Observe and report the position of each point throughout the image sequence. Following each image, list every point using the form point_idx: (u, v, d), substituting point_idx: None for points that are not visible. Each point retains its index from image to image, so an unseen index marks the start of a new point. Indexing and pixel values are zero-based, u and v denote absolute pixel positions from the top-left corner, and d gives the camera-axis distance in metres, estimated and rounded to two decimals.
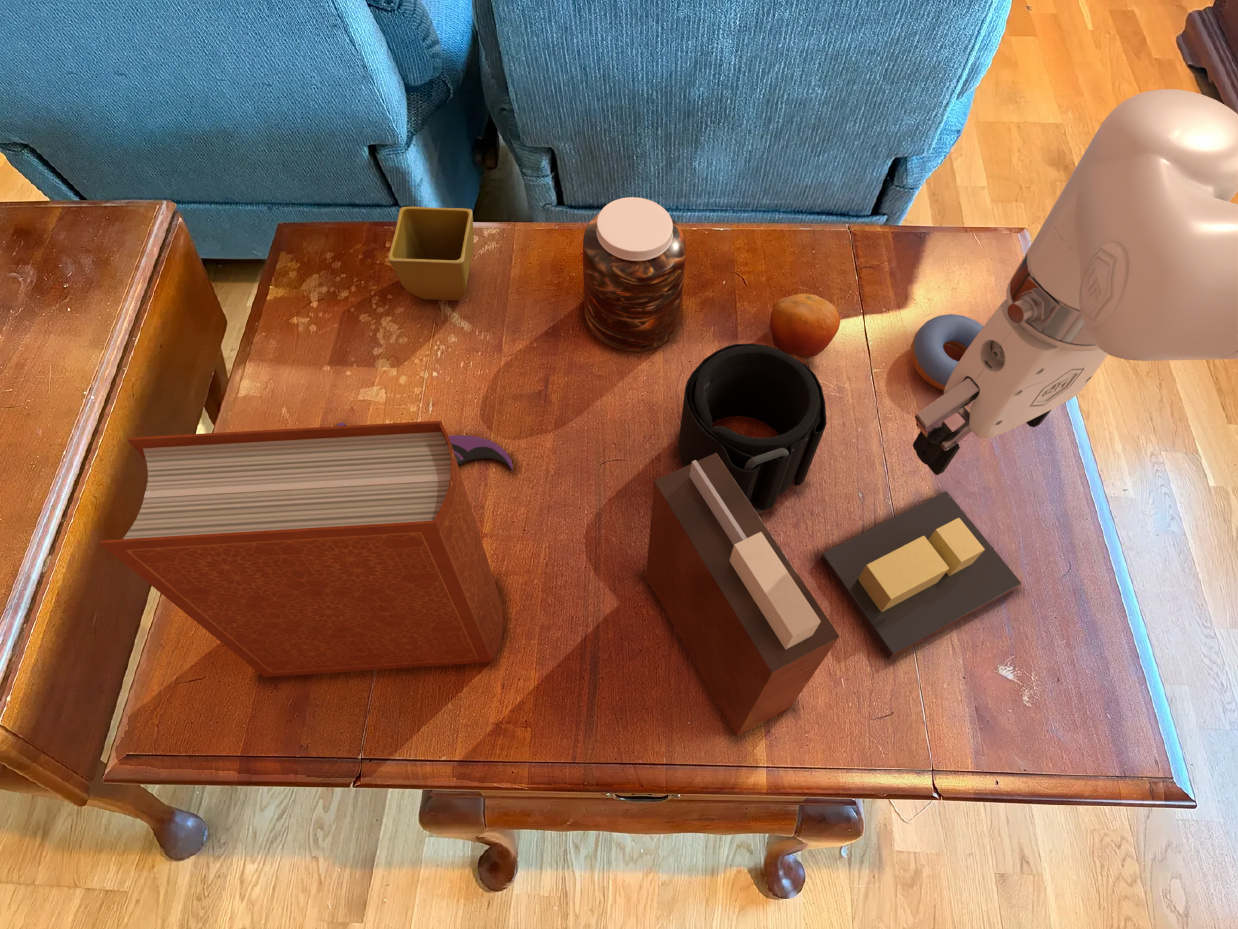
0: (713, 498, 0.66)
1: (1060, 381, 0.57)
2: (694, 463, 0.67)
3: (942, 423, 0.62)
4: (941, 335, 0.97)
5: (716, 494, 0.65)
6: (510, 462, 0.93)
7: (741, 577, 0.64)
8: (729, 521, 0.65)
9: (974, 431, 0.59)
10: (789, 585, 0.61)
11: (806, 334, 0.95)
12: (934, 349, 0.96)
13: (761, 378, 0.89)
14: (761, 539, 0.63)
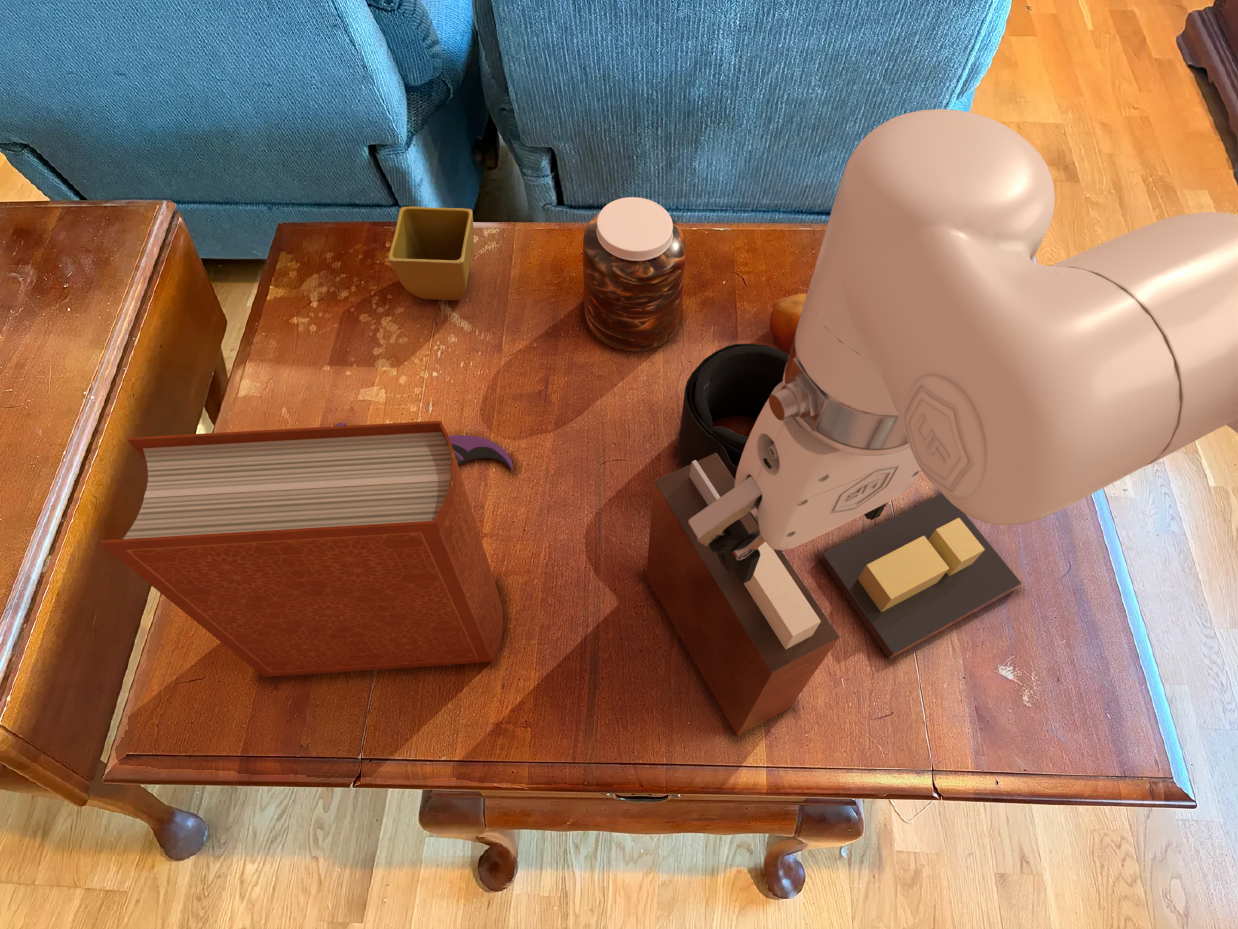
0: (713, 498, 0.66)
1: (866, 483, 0.44)
2: (694, 463, 0.67)
3: (735, 526, 0.49)
4: None
5: (716, 494, 0.65)
6: (510, 462, 0.93)
7: None
8: None
9: (766, 541, 0.46)
10: (789, 585, 0.61)
11: None
12: None
13: (761, 378, 0.89)
14: None
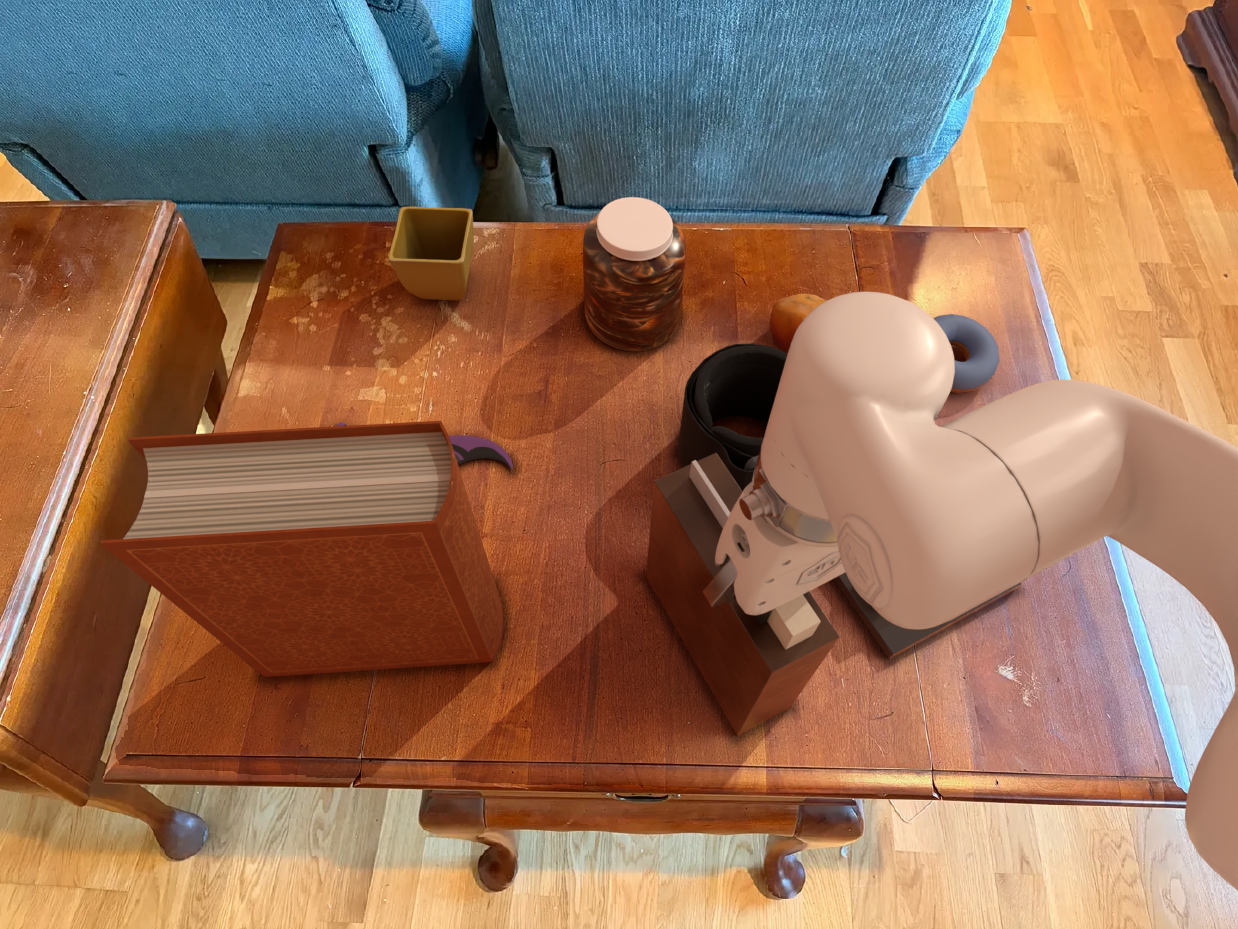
0: (713, 498, 0.66)
1: (825, 561, 0.52)
2: (693, 463, 0.67)
3: None
4: None
5: (716, 494, 0.65)
6: (510, 462, 0.93)
7: None
8: None
9: (742, 608, 0.55)
10: None
11: None
12: None
13: (761, 378, 0.89)
14: None
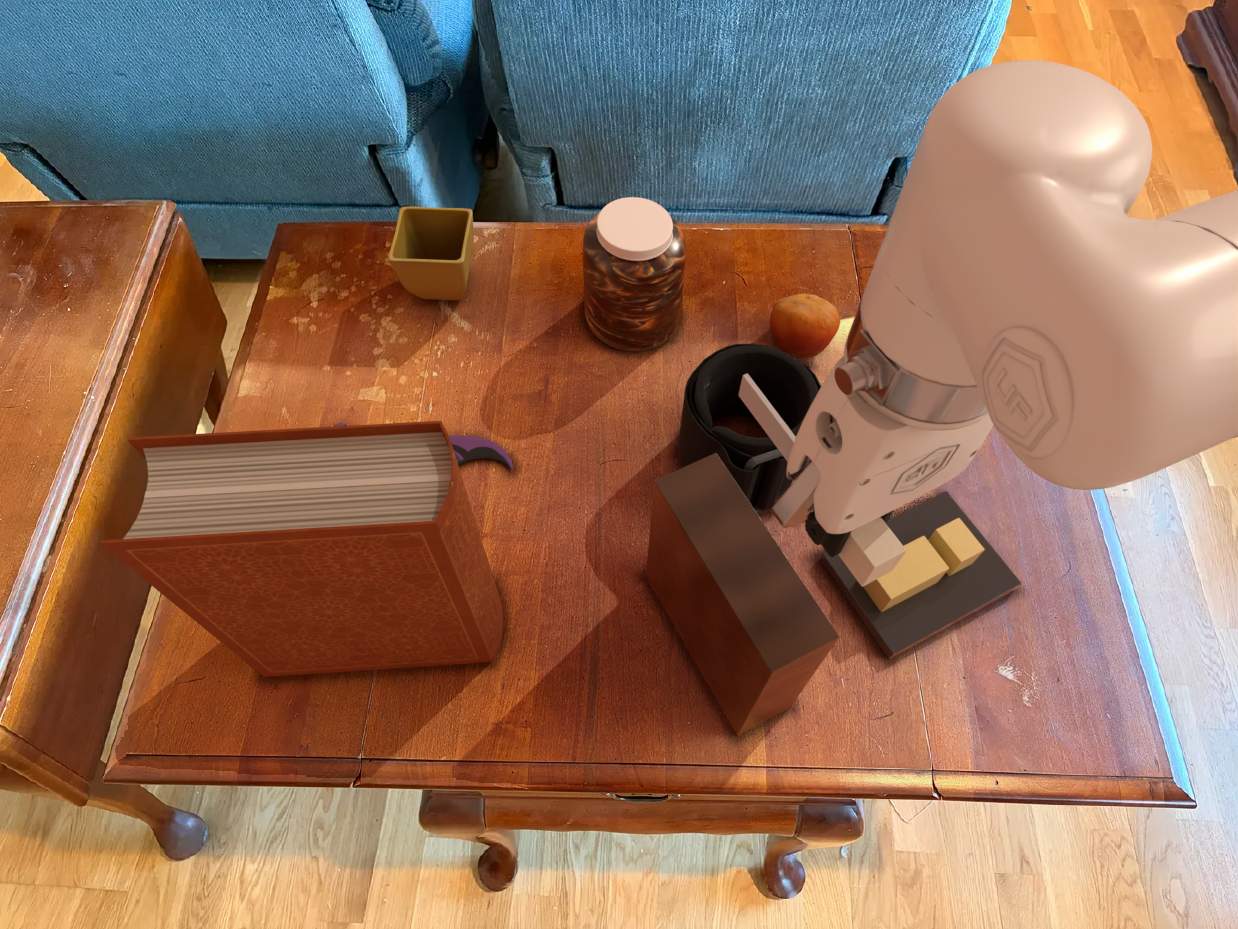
0: (769, 416, 0.56)
1: (928, 462, 0.42)
2: (745, 376, 0.57)
3: None
4: None
5: (773, 410, 0.56)
6: (510, 462, 0.93)
7: None
8: (790, 441, 0.55)
9: (822, 525, 0.45)
10: None
11: (806, 334, 0.95)
12: None
13: (761, 378, 0.89)
14: None
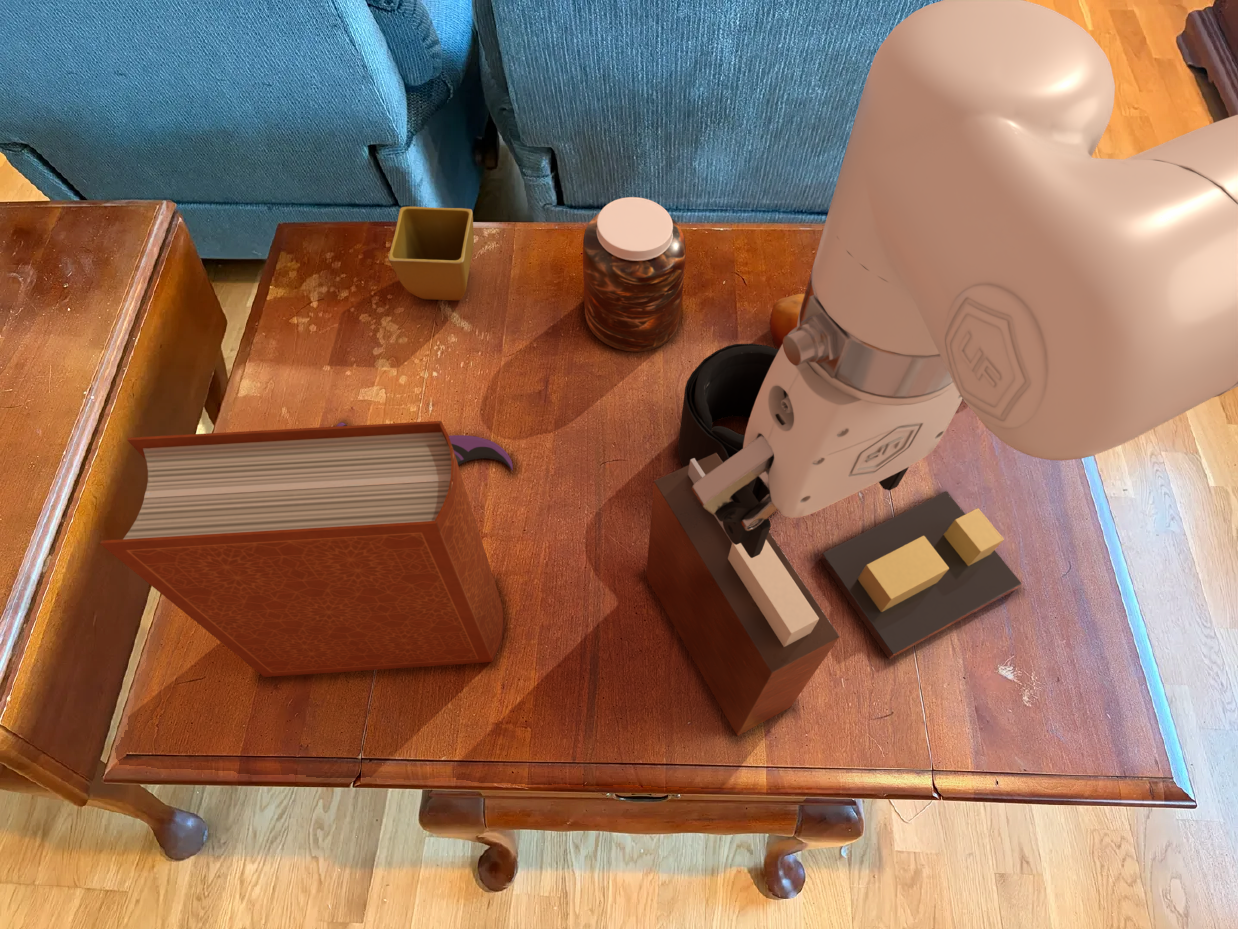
0: None
1: (888, 442, 0.40)
2: (692, 461, 0.67)
3: (743, 493, 0.45)
4: None
5: None
6: (510, 462, 0.93)
7: (739, 575, 0.64)
8: None
9: (778, 508, 0.42)
10: (787, 583, 0.61)
11: None
12: None
13: (761, 378, 0.89)
14: None
